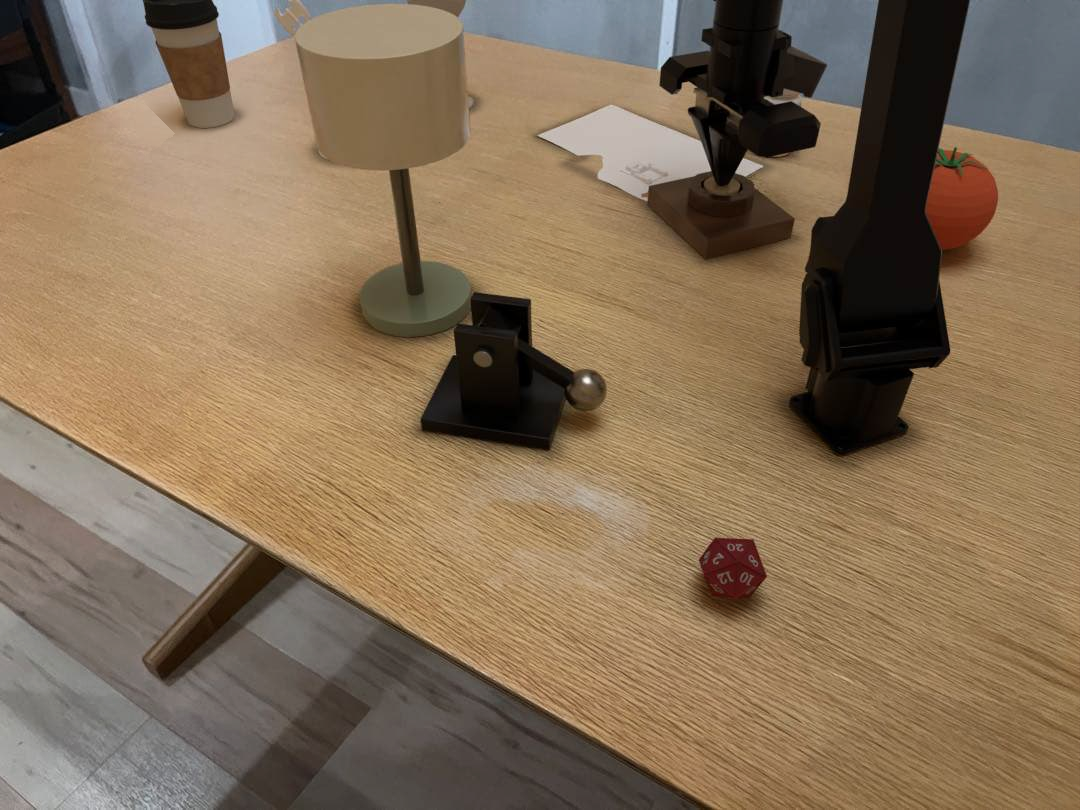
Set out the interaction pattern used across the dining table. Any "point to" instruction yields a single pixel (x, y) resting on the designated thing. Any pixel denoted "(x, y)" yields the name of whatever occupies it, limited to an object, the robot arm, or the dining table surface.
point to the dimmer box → (719, 215)
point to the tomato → (960, 198)
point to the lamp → (393, 135)
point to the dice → (732, 568)
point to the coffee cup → (193, 58)
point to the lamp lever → (553, 367)
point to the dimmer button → (721, 187)
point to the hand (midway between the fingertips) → (722, 184)
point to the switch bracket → (495, 383)
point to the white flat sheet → (635, 149)
